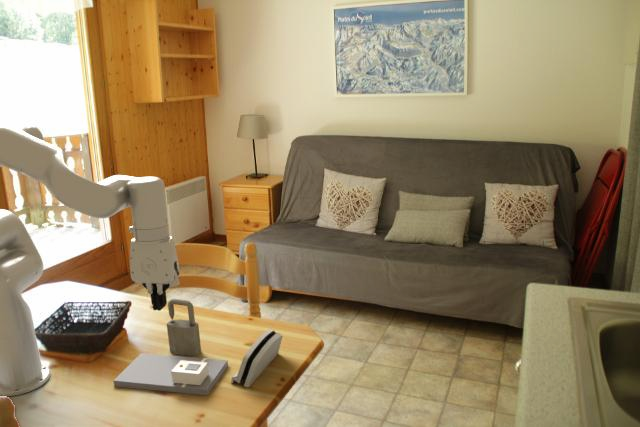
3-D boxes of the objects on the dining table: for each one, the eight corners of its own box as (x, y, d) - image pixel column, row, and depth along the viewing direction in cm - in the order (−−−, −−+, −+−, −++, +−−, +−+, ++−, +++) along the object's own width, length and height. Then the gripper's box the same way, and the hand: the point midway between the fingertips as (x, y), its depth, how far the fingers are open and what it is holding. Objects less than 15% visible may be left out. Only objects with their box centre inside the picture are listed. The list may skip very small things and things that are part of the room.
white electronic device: (172, 382, 130) (171, 369, 129) (182, 371, 135) (180, 358, 134) (200, 385, 129) (198, 372, 128) (208, 373, 133) (207, 361, 132)
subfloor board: (114, 386, 133) (113, 380, 132) (142, 358, 145) (141, 352, 145) (207, 395, 128) (206, 389, 127) (227, 365, 140) (227, 359, 140)
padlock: (176, 345, 151) (170, 295, 147) (202, 349, 148) (197, 298, 144) (168, 353, 147) (161, 301, 143) (195, 357, 145) (189, 304, 140)
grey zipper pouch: (261, 350, 147) (270, 319, 143) (276, 358, 146) (286, 327, 142) (229, 384, 132) (239, 350, 128) (246, 393, 131) (256, 360, 127)
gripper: (112, 236, 121) (121, 312, 126) (174, 239, 118) (182, 317, 123) (130, 226, 128) (138, 299, 133) (190, 229, 125) (196, 303, 130)
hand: (159, 307), depth 128 cm, fingers closed
